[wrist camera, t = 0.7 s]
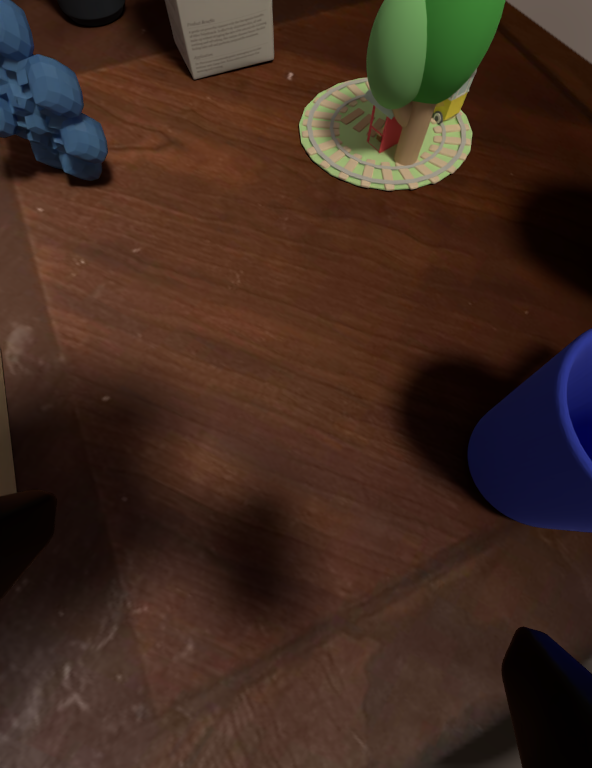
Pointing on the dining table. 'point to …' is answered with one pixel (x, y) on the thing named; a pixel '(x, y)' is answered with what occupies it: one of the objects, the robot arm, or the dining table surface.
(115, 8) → the beverage can
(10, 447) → the button housing
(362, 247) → the dining table surface
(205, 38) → the cosmetic box
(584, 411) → the mug
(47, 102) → the grapes
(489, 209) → the dining table surface
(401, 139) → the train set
